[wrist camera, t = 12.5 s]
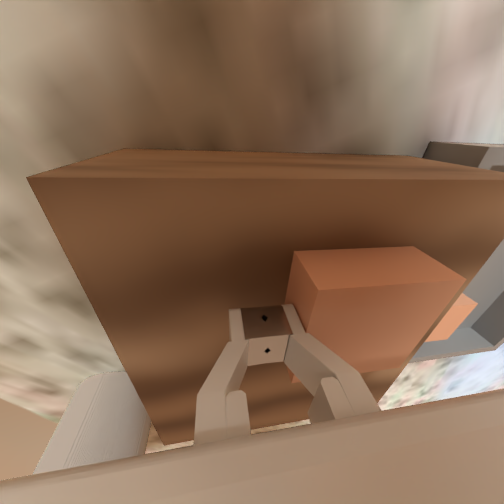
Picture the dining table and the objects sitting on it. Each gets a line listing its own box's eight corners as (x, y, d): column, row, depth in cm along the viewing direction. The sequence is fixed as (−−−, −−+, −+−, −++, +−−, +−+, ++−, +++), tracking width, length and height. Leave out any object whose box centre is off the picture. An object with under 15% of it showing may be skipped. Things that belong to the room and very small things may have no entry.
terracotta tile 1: (478, 303, 22) (455, 288, 24) (430, 308, 21) (410, 291, 23) (447, 339, 25) (429, 322, 27) (404, 344, 24) (389, 327, 26)
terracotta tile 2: (294, 251, 9) (318, 290, 7) (413, 246, 10) (466, 279, 8) (278, 338, 12) (291, 383, 10) (369, 328, 13) (399, 367, 11)
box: (430, 141, 16) (489, 146, 12) (620, 148, 19) (709, 154, 15) (343, 340, 28) (360, 370, 25) (465, 325, 31) (495, 350, 28)
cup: (167, 398, 29) (143, 545, 19) (101, 414, 28) (40, 573, 18) (140, 364, 24) (87, 537, 14) (59, 382, 24) (-56, 576, 14)
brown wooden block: (124, 148, 13) (25, 177, 6) (407, 155, 16) (548, 180, 9) (177, 356, 24) (164, 445, 18) (334, 337, 27) (374, 407, 21)
